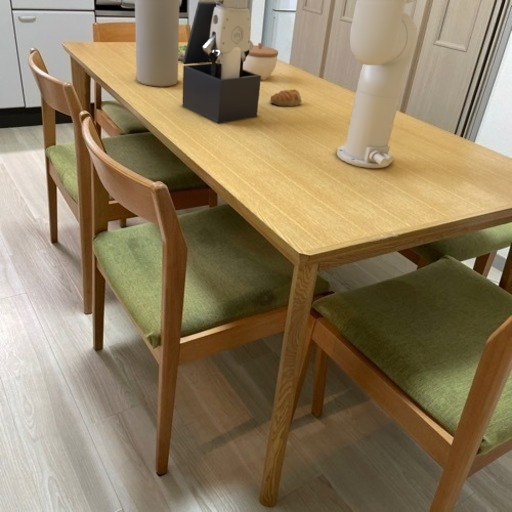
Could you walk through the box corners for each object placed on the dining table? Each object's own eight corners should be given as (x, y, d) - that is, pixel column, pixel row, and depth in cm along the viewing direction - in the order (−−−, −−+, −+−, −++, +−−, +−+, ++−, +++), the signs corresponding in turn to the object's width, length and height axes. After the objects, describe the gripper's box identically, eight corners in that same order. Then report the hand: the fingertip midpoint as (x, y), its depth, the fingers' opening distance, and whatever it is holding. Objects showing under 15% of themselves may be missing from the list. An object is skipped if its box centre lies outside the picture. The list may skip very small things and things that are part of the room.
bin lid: (242, 3, 132) (230, -8, 134) (200, 3, 124) (187, -9, 126) (224, 61, 144) (213, 50, 146) (184, 64, 136) (173, 52, 138)
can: (208, 88, 135) (211, 40, 129) (221, 84, 140) (224, 37, 134) (230, 94, 133) (233, 44, 127) (242, 89, 138) (246, 41, 132)
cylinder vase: (129, 83, 156) (126, -10, 143) (146, 74, 167) (145, -13, 153) (168, 89, 154) (169, -4, 141) (183, 80, 165) (185, -7, 151)
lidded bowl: (280, 82, 176) (285, 47, 170) (246, 82, 171) (249, 46, 165) (266, 72, 186) (270, 39, 180) (233, 72, 181) (235, 38, 175)
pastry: (279, 108, 149) (280, 95, 147) (264, 102, 154) (265, 88, 152) (302, 105, 155) (304, 92, 153) (287, 98, 159) (289, 86, 157)
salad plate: (200, 67, 183) (201, 53, 180) (155, 58, 187) (155, 44, 184) (222, 58, 198) (222, 45, 196) (180, 50, 203) (180, 37, 200)
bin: (257, 116, 141) (261, 75, 135) (218, 123, 133) (220, 80, 127) (220, 100, 150) (223, 61, 144) (182, 106, 142) (183, 65, 136)
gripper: (213, 4, 118) (209, 84, 128) (268, 4, 129) (260, 78, 138) (193, -1, 123) (191, 76, 132) (248, -1, 133) (242, 71, 143)
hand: (226, 76), depth 135 cm, fingers closed on can, 6 cm apart
